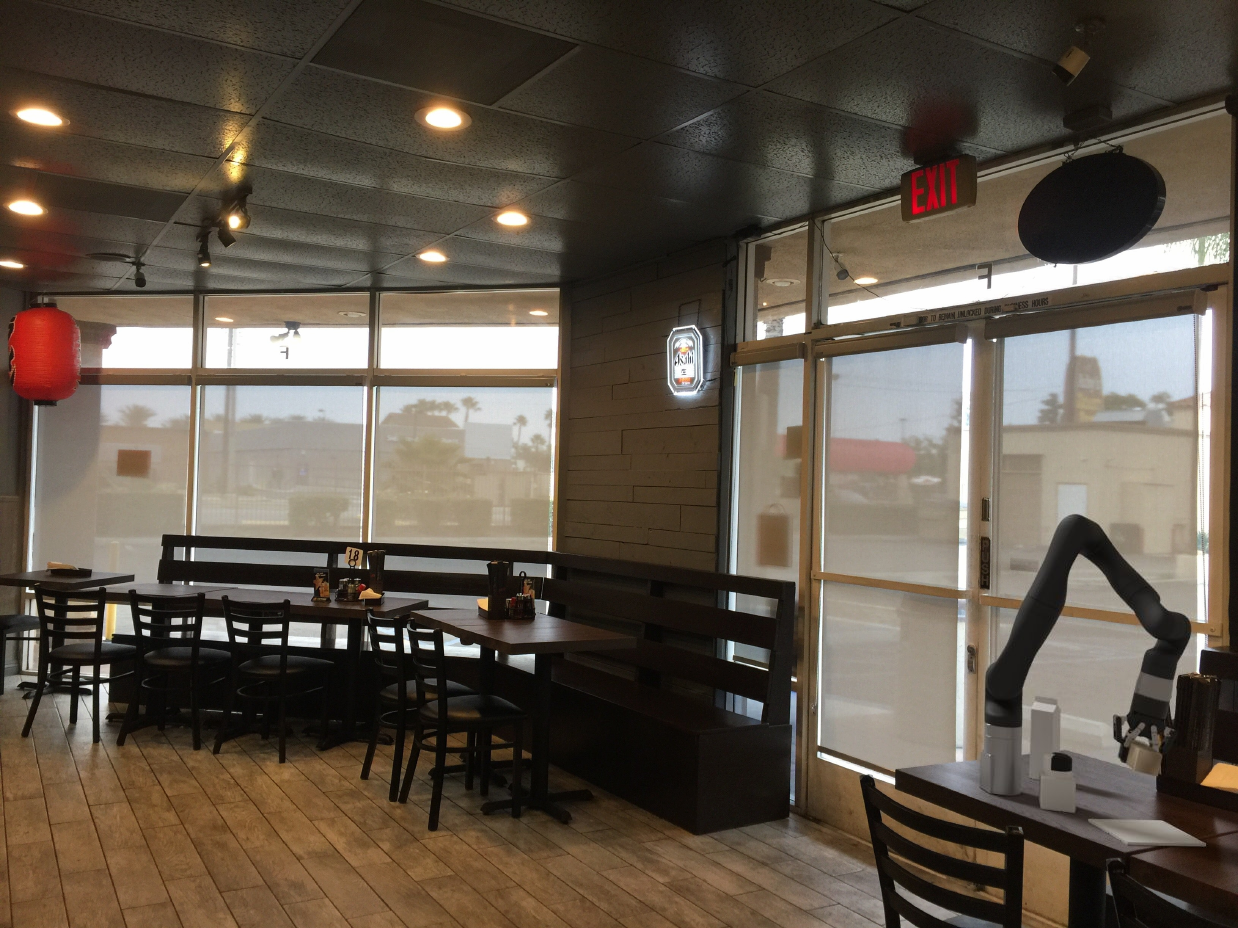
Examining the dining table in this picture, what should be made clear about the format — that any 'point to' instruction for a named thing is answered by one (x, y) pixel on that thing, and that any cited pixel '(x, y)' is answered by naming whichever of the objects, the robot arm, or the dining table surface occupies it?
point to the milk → (1043, 732)
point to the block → (1143, 758)
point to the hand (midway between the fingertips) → (1135, 764)
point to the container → (1057, 783)
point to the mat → (1146, 832)
